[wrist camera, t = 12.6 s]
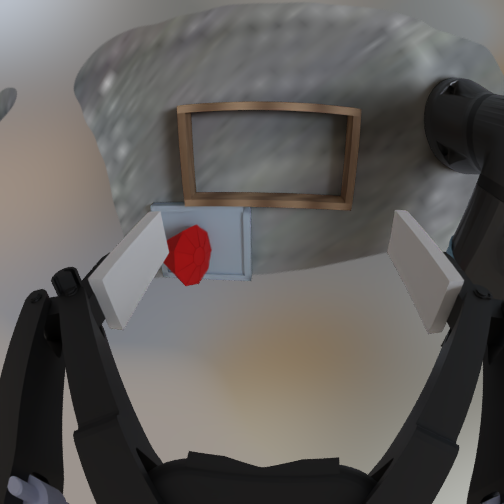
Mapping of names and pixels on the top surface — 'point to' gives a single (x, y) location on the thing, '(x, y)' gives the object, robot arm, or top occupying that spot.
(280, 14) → the top surface
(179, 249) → the gemstone
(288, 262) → the top surface
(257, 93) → the top surface
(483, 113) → the robot arm
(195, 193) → the frame
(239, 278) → the tray
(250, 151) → the top surface
